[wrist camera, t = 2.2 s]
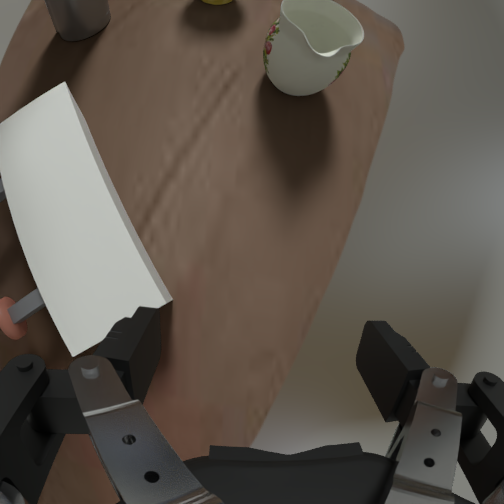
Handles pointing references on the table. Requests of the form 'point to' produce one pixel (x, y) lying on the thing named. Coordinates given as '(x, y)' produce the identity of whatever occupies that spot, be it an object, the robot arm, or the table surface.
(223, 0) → the plant pot
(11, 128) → the key box
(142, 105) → the table surface
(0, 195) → the blue key
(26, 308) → the red key
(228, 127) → the table surface
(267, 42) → the pitcher
